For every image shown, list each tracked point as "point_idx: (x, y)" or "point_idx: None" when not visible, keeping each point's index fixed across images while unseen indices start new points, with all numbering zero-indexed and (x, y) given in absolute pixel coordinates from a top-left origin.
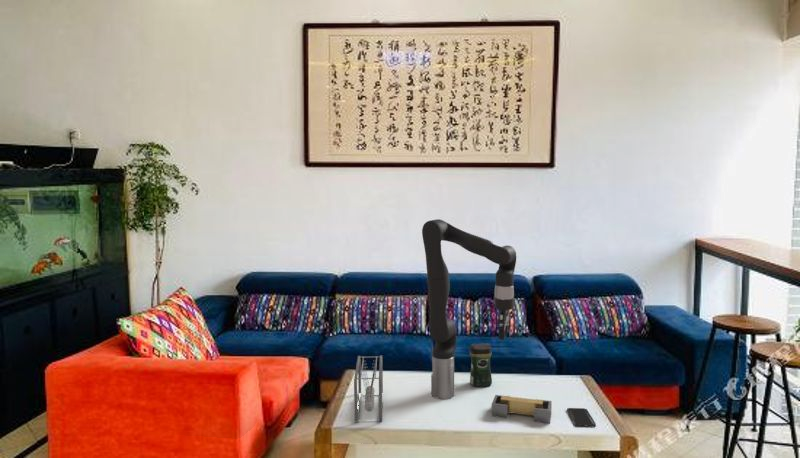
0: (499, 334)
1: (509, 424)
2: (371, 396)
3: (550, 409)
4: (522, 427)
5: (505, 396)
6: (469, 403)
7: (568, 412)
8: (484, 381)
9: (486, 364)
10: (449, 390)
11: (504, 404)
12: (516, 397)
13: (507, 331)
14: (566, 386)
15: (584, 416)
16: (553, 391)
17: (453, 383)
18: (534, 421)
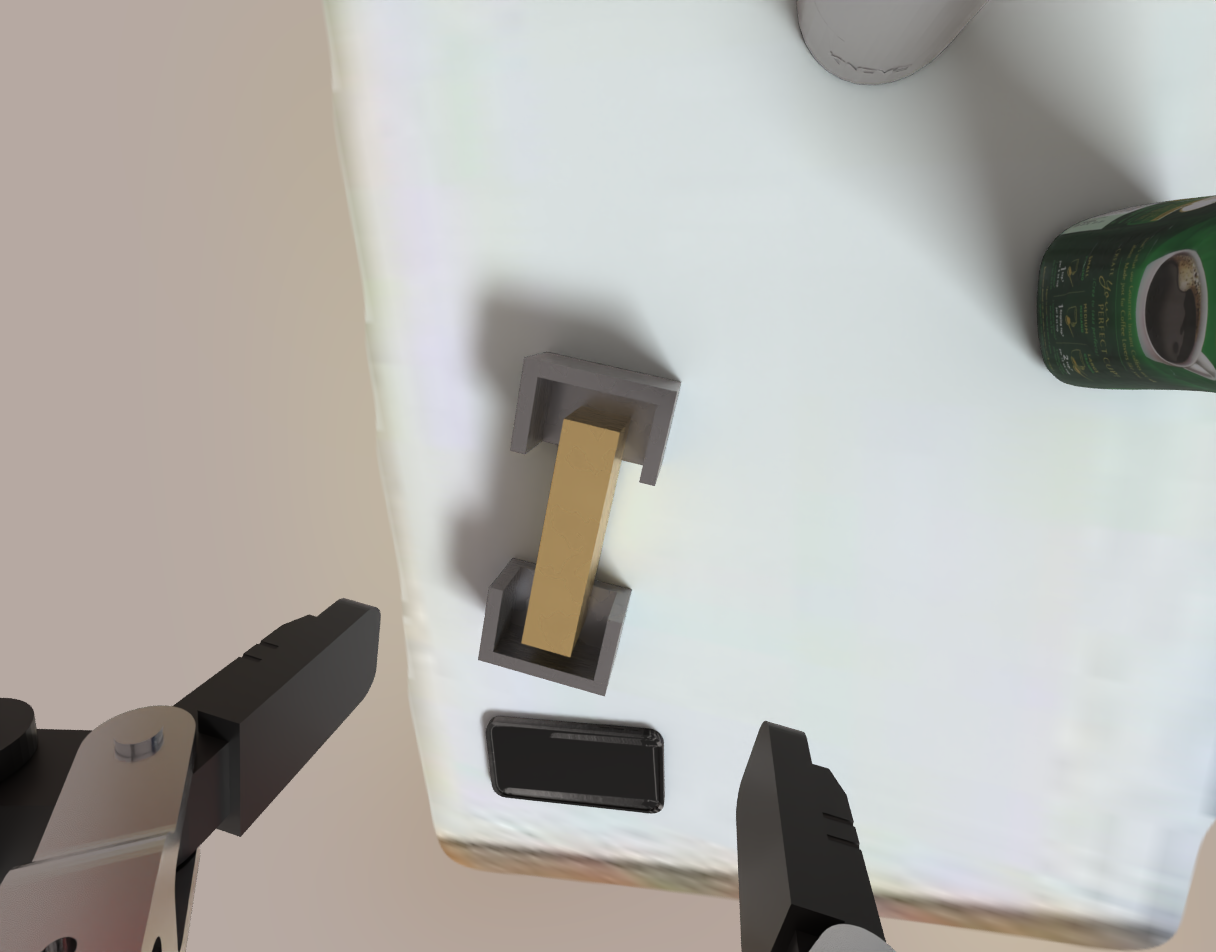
0: (284, 654)
1: (464, 438)
2: None
3: (508, 664)
4: (442, 496)
5: (610, 454)
6: (727, 213)
7: (616, 730)
8: (1055, 327)
9: (1161, 352)
10: (819, 20)
11: (526, 436)
12: (599, 520)
13: (737, 840)
14: (994, 818)
15: (577, 780)
16: (918, 735)
17: (873, 34)
18: (511, 561)
